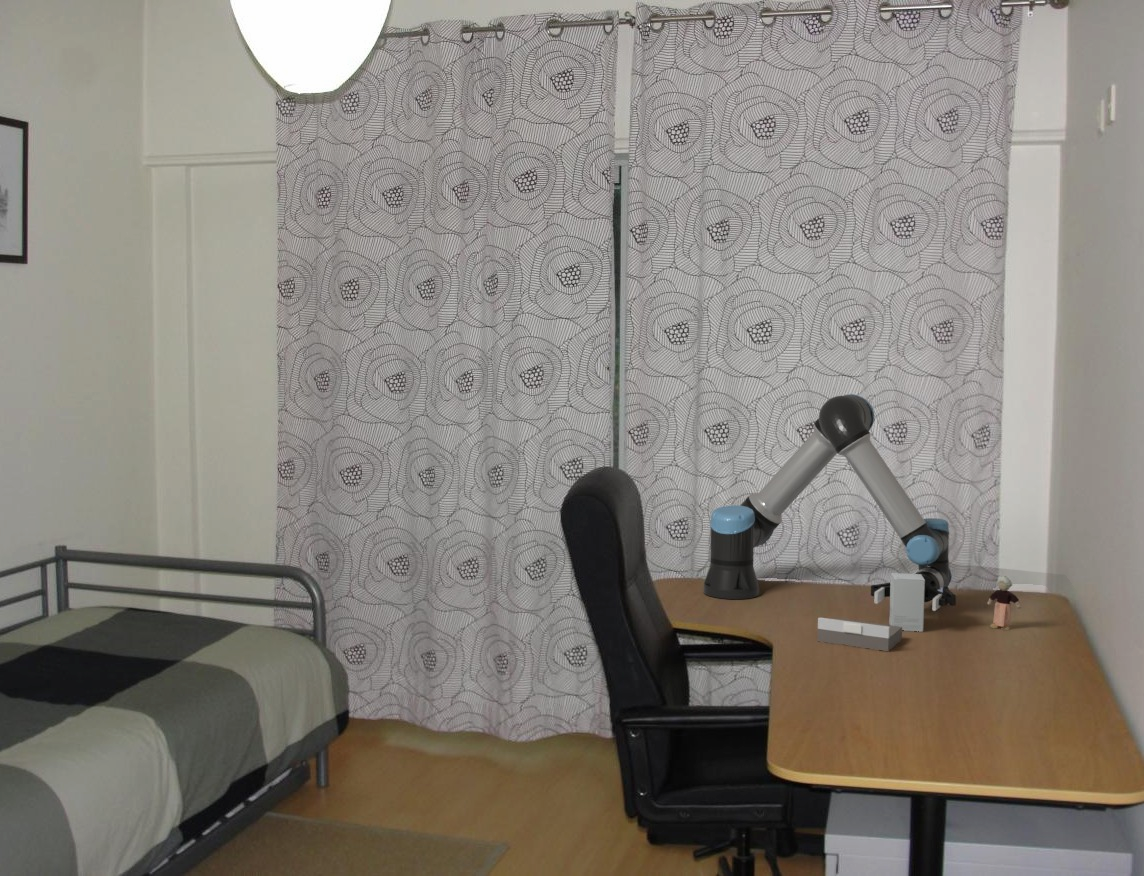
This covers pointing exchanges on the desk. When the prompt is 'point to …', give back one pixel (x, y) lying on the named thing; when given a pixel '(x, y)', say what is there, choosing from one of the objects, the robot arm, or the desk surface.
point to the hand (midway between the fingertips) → (904, 601)
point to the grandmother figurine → (1003, 604)
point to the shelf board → (858, 633)
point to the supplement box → (907, 601)
